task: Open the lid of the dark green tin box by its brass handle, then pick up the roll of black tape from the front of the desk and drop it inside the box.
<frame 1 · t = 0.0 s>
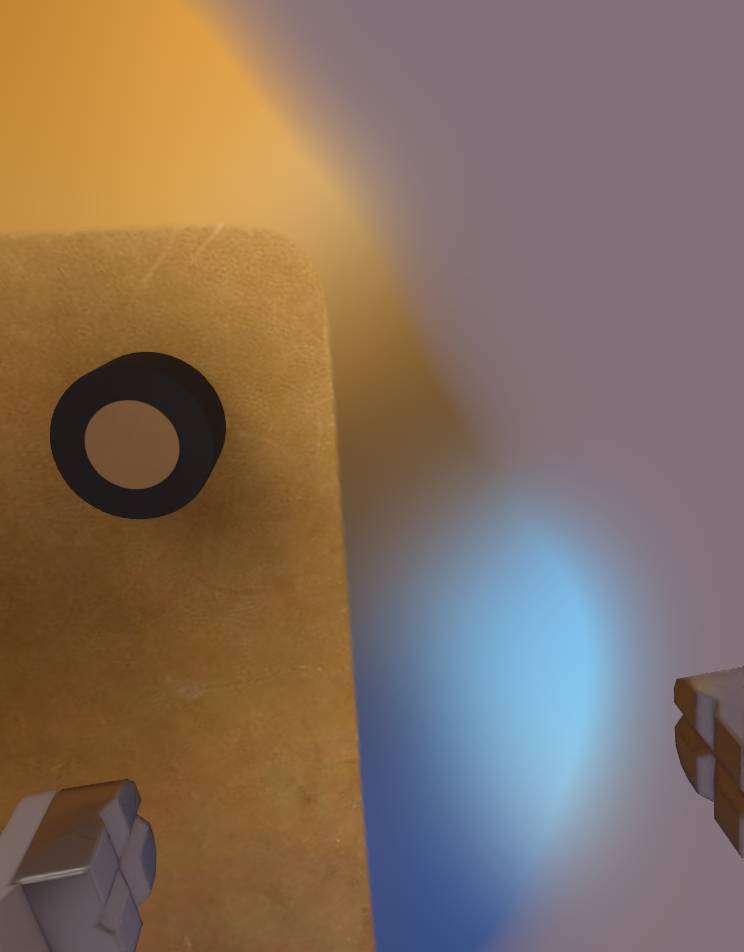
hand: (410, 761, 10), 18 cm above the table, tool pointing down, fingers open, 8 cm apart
tape: (153, 424, 27), on the table
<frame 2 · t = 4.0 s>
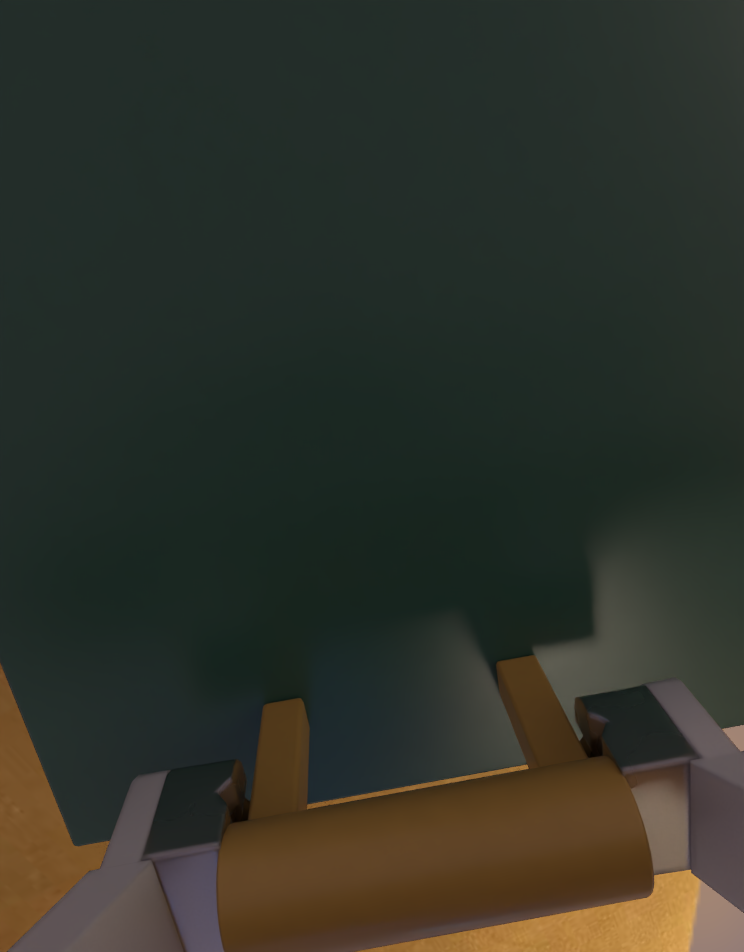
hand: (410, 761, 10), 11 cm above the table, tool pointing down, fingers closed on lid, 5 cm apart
lid: (339, 347, 8), point 11 cm above the table, hinge at 0.0°, touching gripper
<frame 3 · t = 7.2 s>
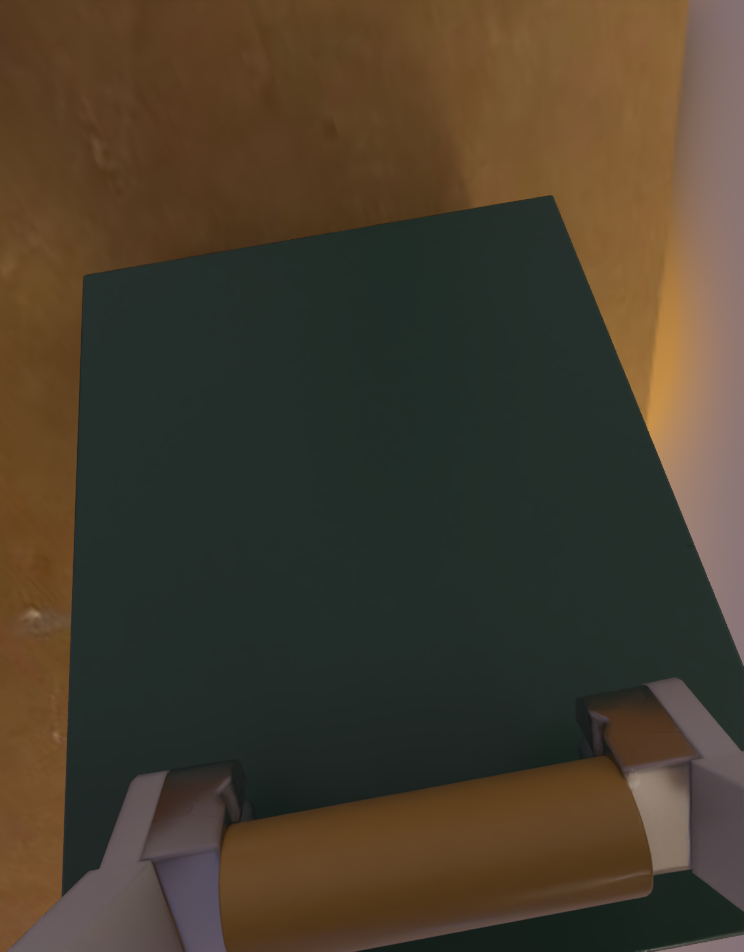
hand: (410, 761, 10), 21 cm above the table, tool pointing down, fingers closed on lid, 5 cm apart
lid: (363, 480, 13), point 17 cm above the table, hinge at 46.2°, touching gripper
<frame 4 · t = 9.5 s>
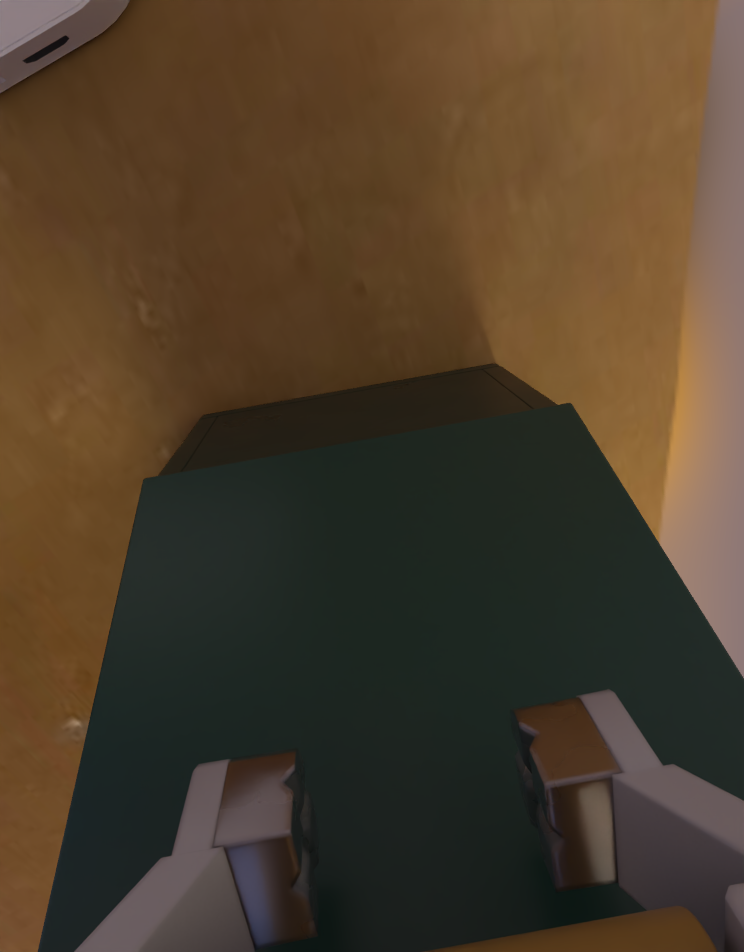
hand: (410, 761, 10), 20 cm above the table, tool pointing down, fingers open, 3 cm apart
tin box: (379, 554, 31), on the table
lid: (389, 632, 12), point 18 cm above the table, hinge at 69.1°
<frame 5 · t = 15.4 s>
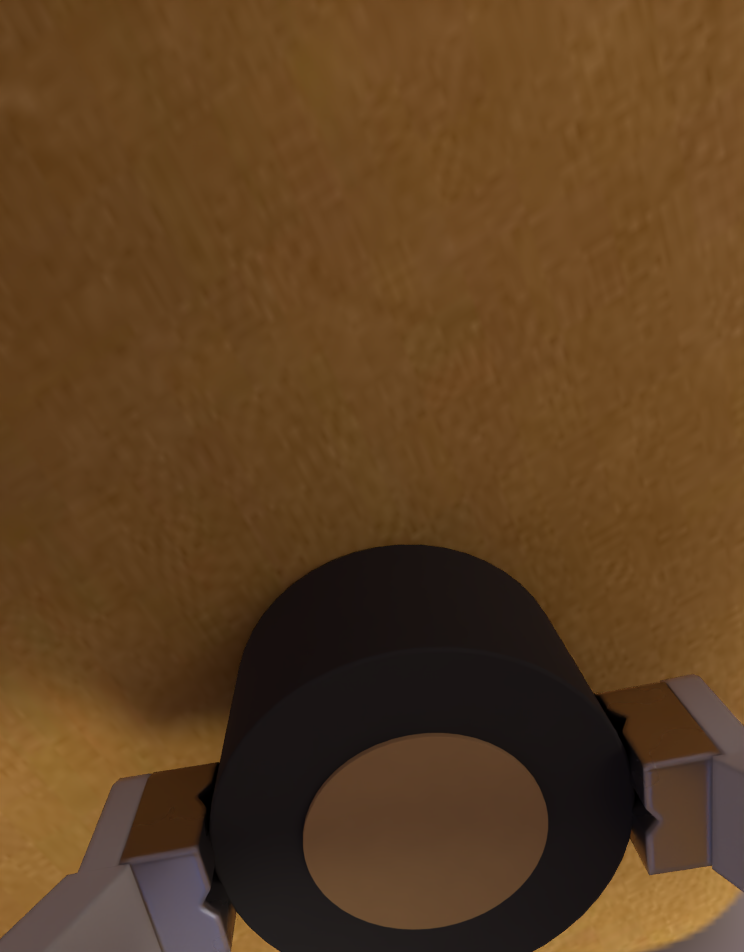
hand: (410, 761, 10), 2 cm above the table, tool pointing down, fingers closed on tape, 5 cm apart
tape: (401, 692, 12), on the table, touching gripper
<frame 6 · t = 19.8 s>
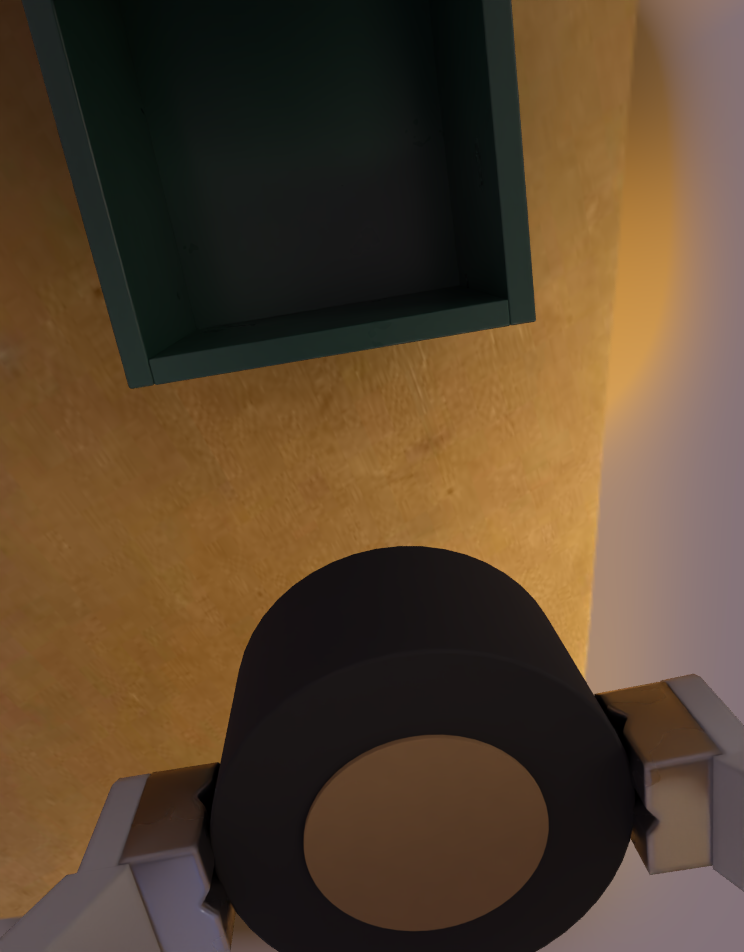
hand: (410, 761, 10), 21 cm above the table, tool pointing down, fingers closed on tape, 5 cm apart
tape: (401, 693, 12), point 20 cm above the table, touching gripper
tin box: (297, 123, 27), on the table
when the fingers open (10 cm above the table, at t = 24.0 s): tape drops 8 cm, resting on tin box.
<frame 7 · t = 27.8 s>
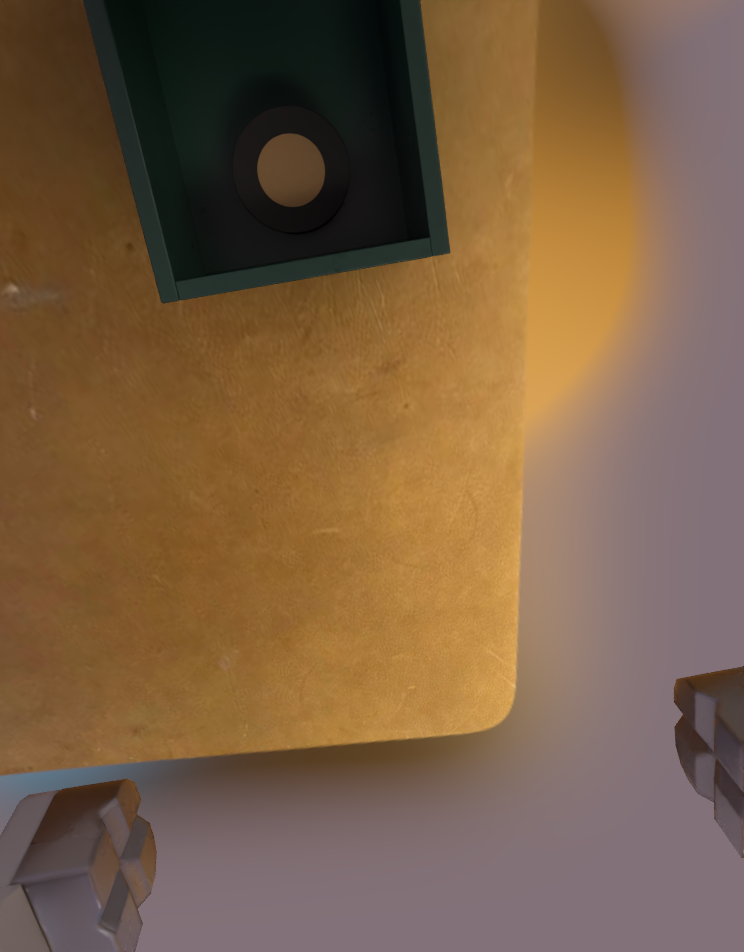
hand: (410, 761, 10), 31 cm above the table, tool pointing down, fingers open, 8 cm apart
tape: (294, 176, 35), point 1 cm above the table, touching tin box
tin box: (281, 115, 35), on the table
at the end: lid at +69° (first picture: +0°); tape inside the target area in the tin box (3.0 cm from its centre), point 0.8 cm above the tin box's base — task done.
